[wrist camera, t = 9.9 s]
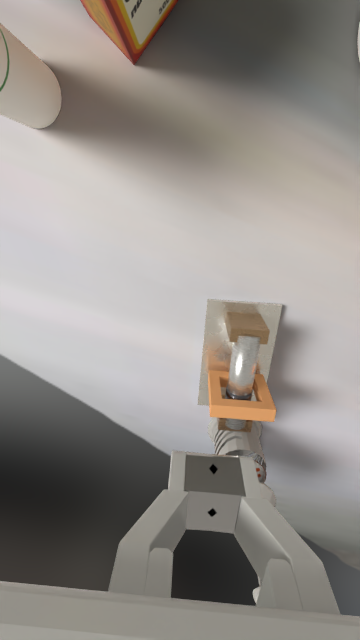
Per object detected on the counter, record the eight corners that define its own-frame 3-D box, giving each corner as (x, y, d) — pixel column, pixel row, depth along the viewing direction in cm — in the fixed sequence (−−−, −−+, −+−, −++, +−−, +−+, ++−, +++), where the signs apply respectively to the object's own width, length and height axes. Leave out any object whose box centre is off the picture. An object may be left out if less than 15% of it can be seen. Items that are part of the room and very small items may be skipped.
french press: (273, 425, 52) (334, 601, 29) (234, 463, 56) (261, 646, 33) (228, 399, 51) (255, 564, 28) (192, 441, 55) (188, 616, 32)
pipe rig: (280, 304, 44) (297, 324, 36) (260, 406, 51) (271, 441, 44) (207, 299, 44) (209, 318, 37) (197, 401, 51) (197, 435, 44)
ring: (262, 374, 47) (276, 409, 39) (260, 384, 47) (273, 421, 39) (208, 370, 47) (211, 404, 39) (207, 380, 48) (210, 416, 40)
